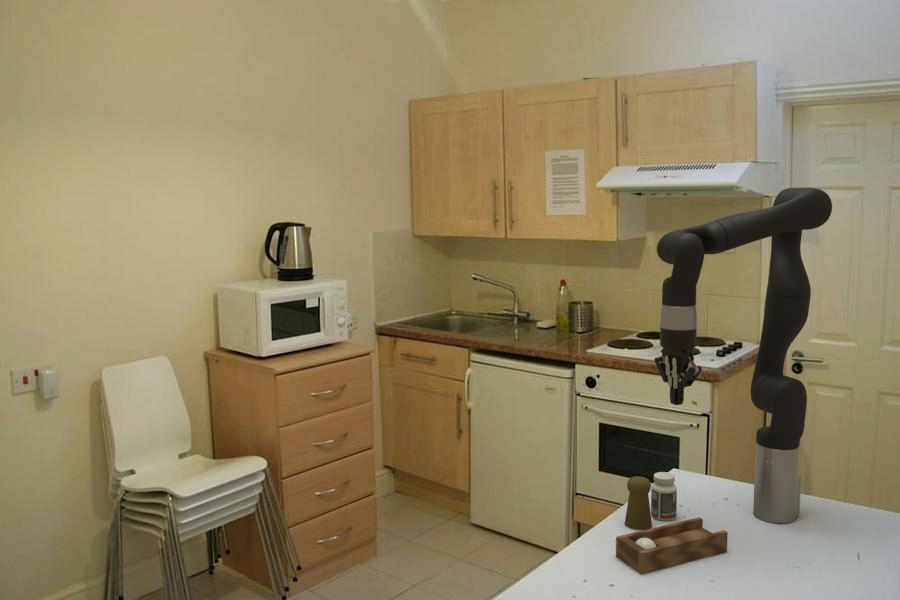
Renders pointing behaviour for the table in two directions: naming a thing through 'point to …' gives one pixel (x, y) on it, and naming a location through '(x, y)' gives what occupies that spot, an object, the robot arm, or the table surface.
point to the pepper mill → (638, 504)
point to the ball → (646, 543)
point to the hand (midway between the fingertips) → (676, 403)
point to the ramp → (670, 545)
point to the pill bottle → (664, 497)
